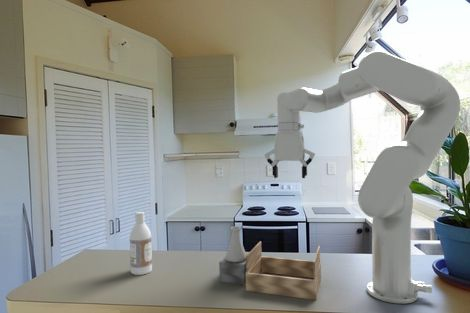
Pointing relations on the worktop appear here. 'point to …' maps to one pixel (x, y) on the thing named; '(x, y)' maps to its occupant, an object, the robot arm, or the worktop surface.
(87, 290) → the worktop surface
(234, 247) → the flask
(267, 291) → the wooden box
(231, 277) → the stand
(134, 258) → the bath foam
